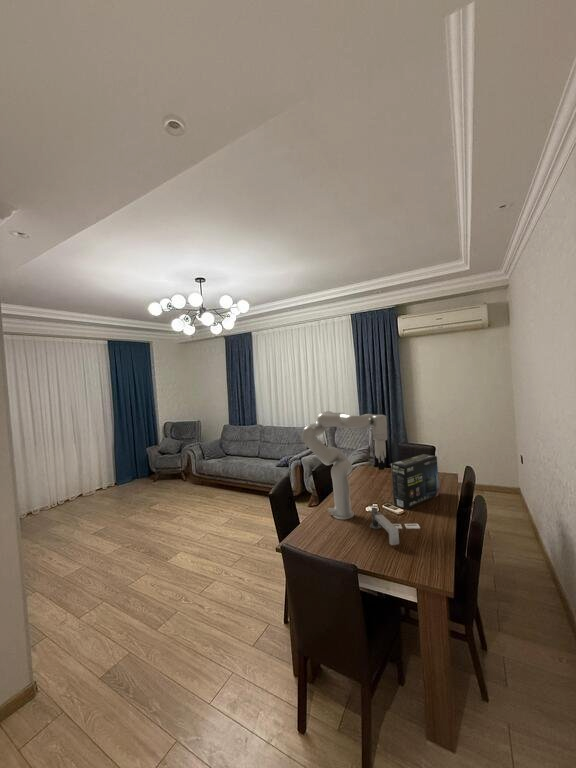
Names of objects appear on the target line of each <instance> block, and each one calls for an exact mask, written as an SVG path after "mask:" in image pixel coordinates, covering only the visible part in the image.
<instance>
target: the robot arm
mask: <svg viewBox="0 0 576 768" xmlns="http://www.w3.org/2000/svg"><path fill="white" fill-rule="evenodd" d="M317 415H318V416H317V418H316V419H317V420H316V421H315V422H314V423H311V424H309V425H307V426H305V427H304V428H303V431H302V432H301V433H302V434H301V437H302V441H303V443H304V445H305V446H306V447H307V448H308V449H309V450H310V451H311V452H312V453H313V455H314V456H316V458H318V459H319V461H321V463H322V464H324V465H325V466H330V465H333V466H332V467H331V469H330V476H331V479H332V480H331V481H332V488H333V489H332V491H333V502H334V507H327V512H328V513H330V514H332V516H333V518H334V519H337V520H343V521H345V520H350V519H352V518H353V517H354V516H355V512H354V511H352V507H351V506H352V505H351V494H350V493H351V491H350V483H349V479H348V475H349V474H351V472H352V471H353V465H352V462H351V461H350V460H349V459H348V458H347V457H346V456H345V455H344V454H343V452H341V450H340V449H338V448H337V447H334V446H330V447H328V446H326V445H325V443H324V442H323V441H321V440H320V439H318V438H317V437H320V436H321V435H322V434H324V433H325V431H327V430H328V429H329V428H330V427H332V428H333V427H337V428H343V429H344V428H346V429H353V430H364V429H365V430H366V429H368V428H369V427H372V436H373V439H372V440H374V455H375V457H376V459H377V460H378V462H377V467H378V470H380V471H382V470H385V468H386V467H385V458H387V449H386V447H387V446H386V441H387V440H388V429H387V428H388V425H387V420H388V419H387V416H386V415H385V414H372V413H365V414H362V415H350V414H346V413H344V412H333V411H329V410H327V411H323V412H320V413H319V414H317Z"/></svg>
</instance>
